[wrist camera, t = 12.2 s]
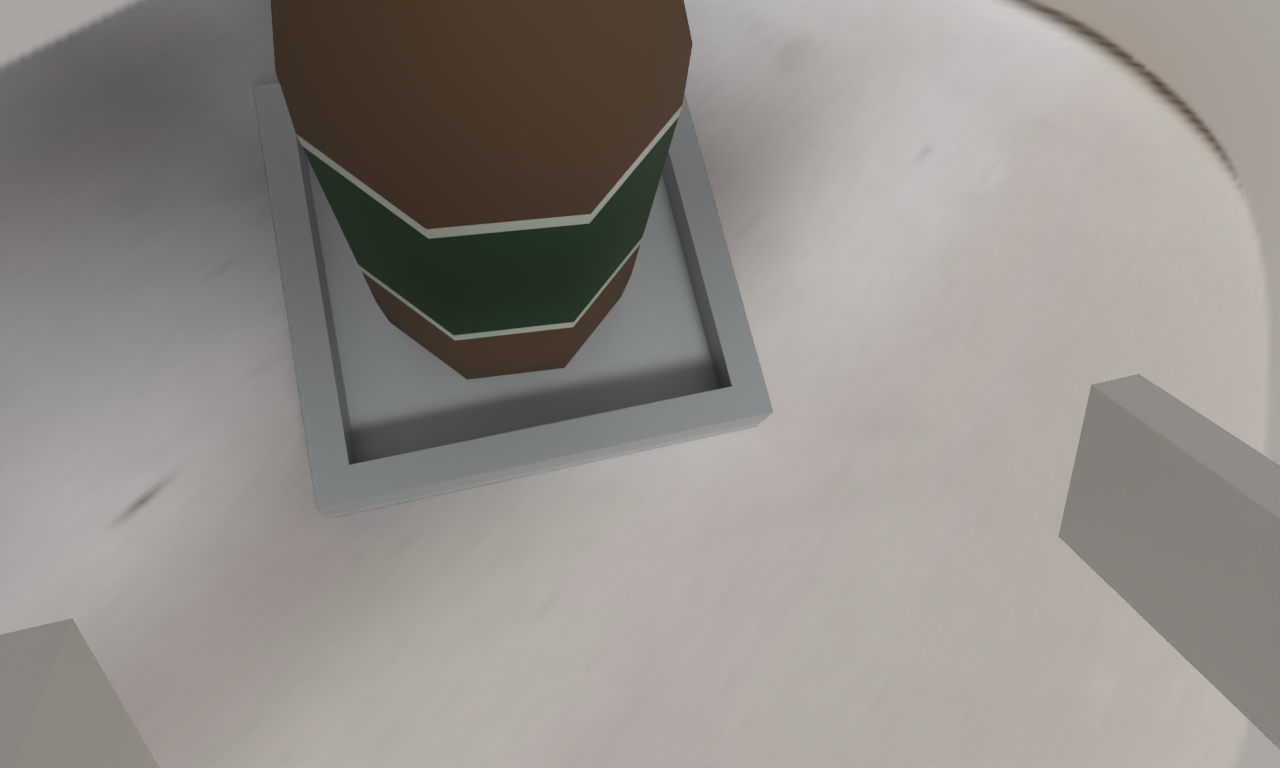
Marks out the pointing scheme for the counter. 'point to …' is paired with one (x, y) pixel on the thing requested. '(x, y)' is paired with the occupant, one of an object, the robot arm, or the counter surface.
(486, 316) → the beer bottle
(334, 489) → the keeper tray
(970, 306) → the counter surface
